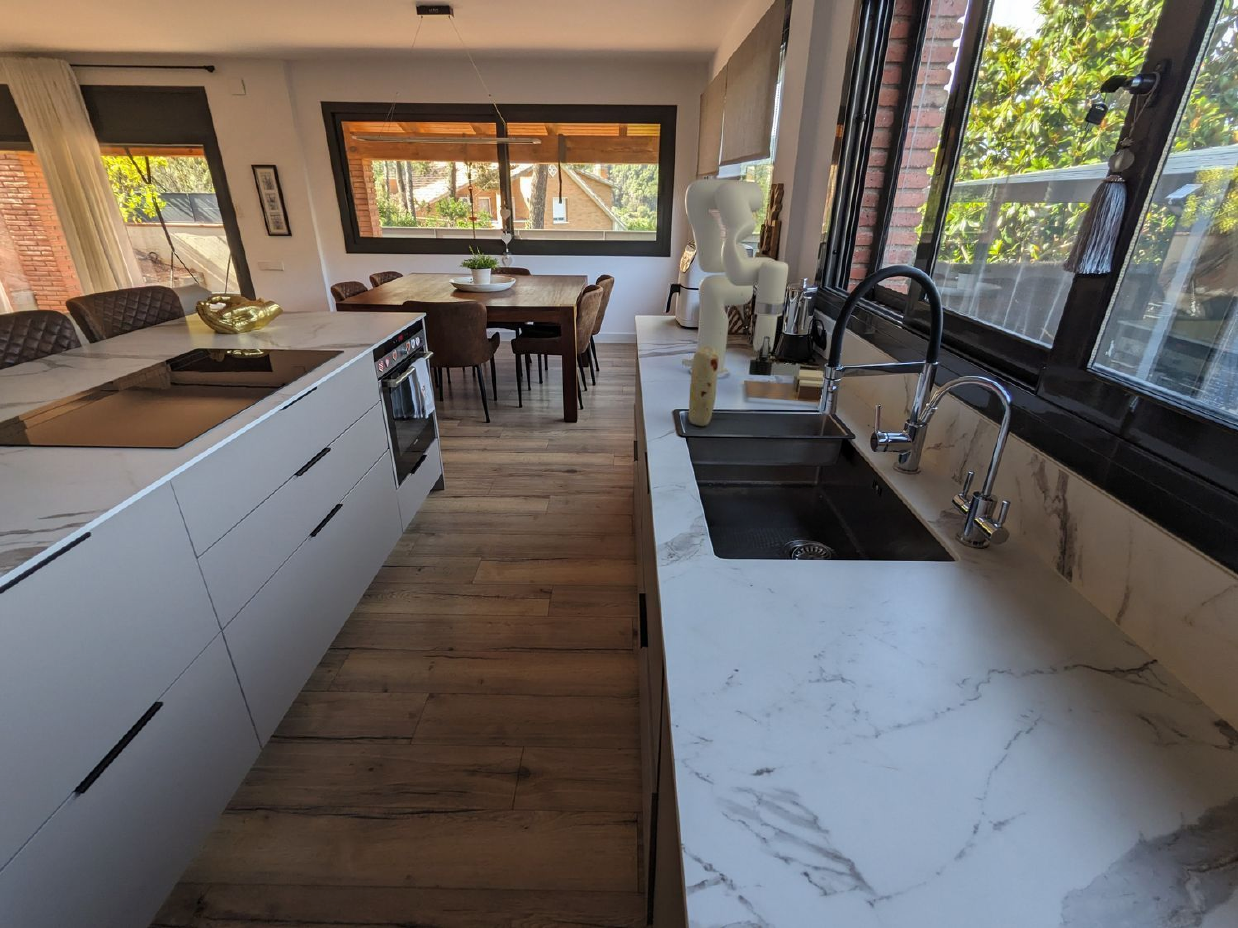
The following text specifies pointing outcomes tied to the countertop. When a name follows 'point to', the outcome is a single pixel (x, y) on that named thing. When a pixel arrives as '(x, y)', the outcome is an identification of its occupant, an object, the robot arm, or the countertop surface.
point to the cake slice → (810, 389)
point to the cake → (807, 377)
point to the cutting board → (772, 391)
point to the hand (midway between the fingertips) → (760, 372)
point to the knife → (776, 369)
